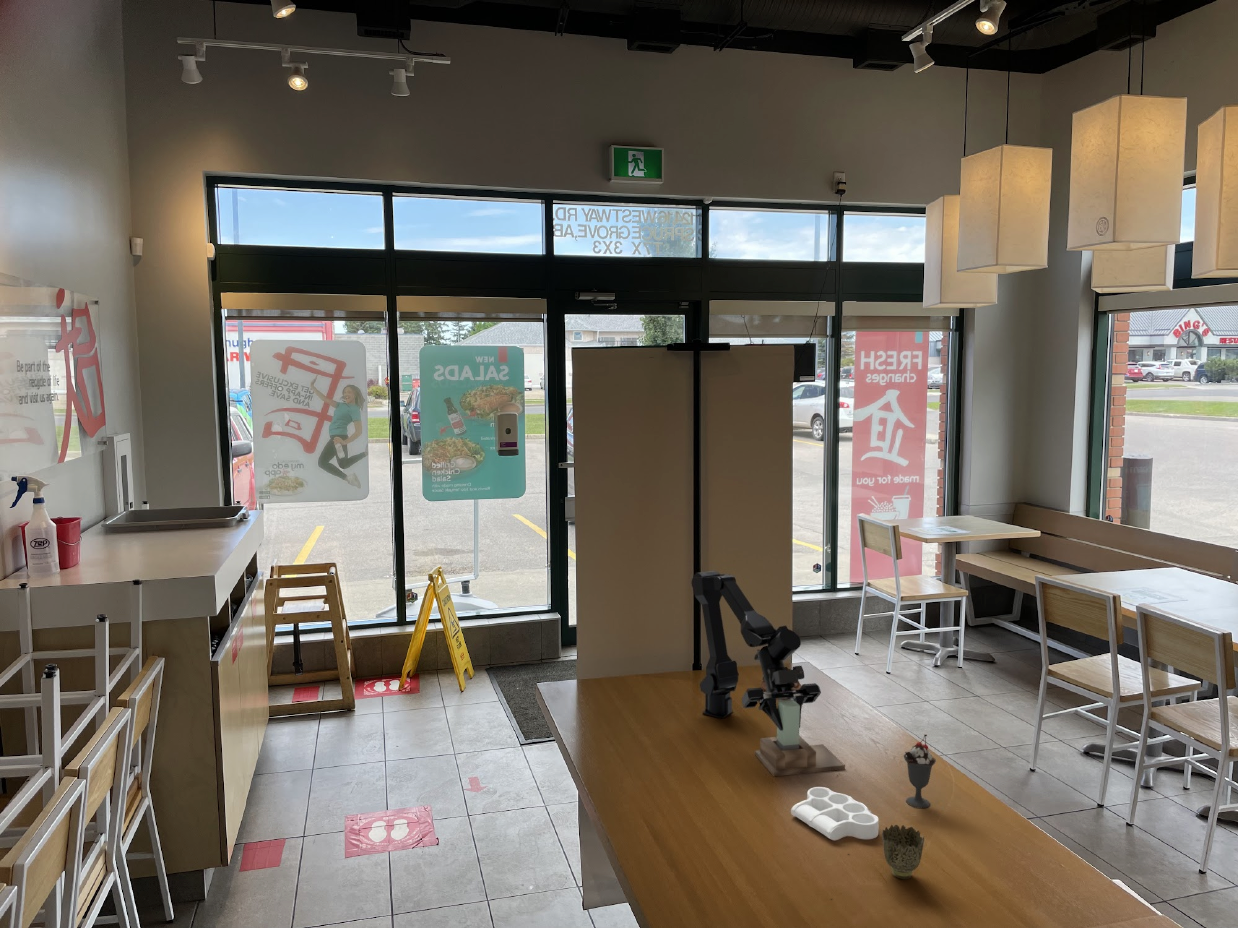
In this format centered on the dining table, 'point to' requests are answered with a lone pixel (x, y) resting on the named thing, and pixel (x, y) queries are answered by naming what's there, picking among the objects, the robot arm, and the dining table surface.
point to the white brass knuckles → (836, 815)
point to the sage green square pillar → (788, 725)
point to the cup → (902, 850)
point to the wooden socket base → (796, 758)
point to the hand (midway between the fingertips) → (790, 729)
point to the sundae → (919, 772)
